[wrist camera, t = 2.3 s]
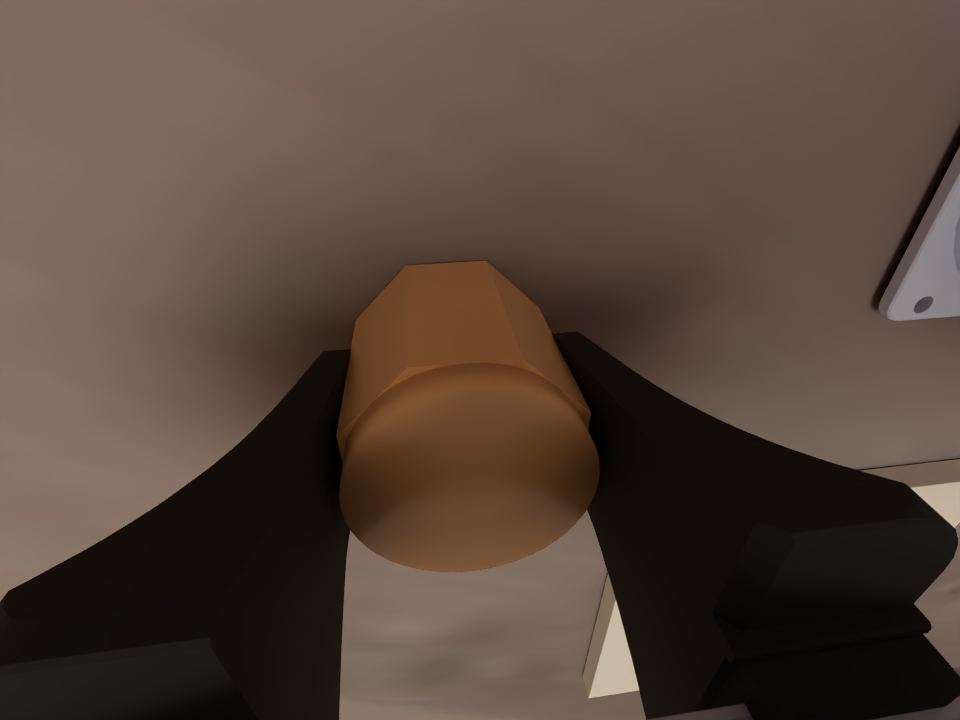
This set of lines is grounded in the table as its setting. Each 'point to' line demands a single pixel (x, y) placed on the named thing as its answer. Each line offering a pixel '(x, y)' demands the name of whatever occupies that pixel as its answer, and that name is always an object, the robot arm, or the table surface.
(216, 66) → the table surface
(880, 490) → the robot arm
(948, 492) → the post board
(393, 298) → the cap
